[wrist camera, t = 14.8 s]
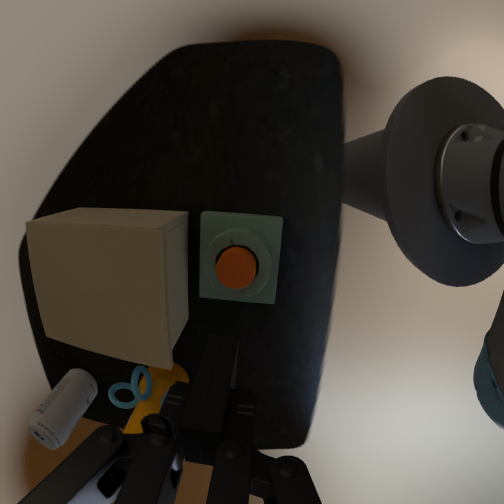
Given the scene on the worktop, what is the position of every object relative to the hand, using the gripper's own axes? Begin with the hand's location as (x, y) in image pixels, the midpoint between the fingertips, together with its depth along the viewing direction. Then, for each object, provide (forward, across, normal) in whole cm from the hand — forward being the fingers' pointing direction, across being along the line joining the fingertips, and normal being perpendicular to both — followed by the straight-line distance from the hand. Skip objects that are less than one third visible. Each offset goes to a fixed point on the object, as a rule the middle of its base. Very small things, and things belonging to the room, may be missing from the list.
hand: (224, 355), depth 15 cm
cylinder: (+16, -10, -17) cm, 25 cm away
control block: (+16, -1, +1) cm, 16 cm away
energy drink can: (+16, -26, -23) cm, 38 cm away
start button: (+13, -1, +1) cm, 13 cm away
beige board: (+7, -13, -1) cm, 15 cm away
